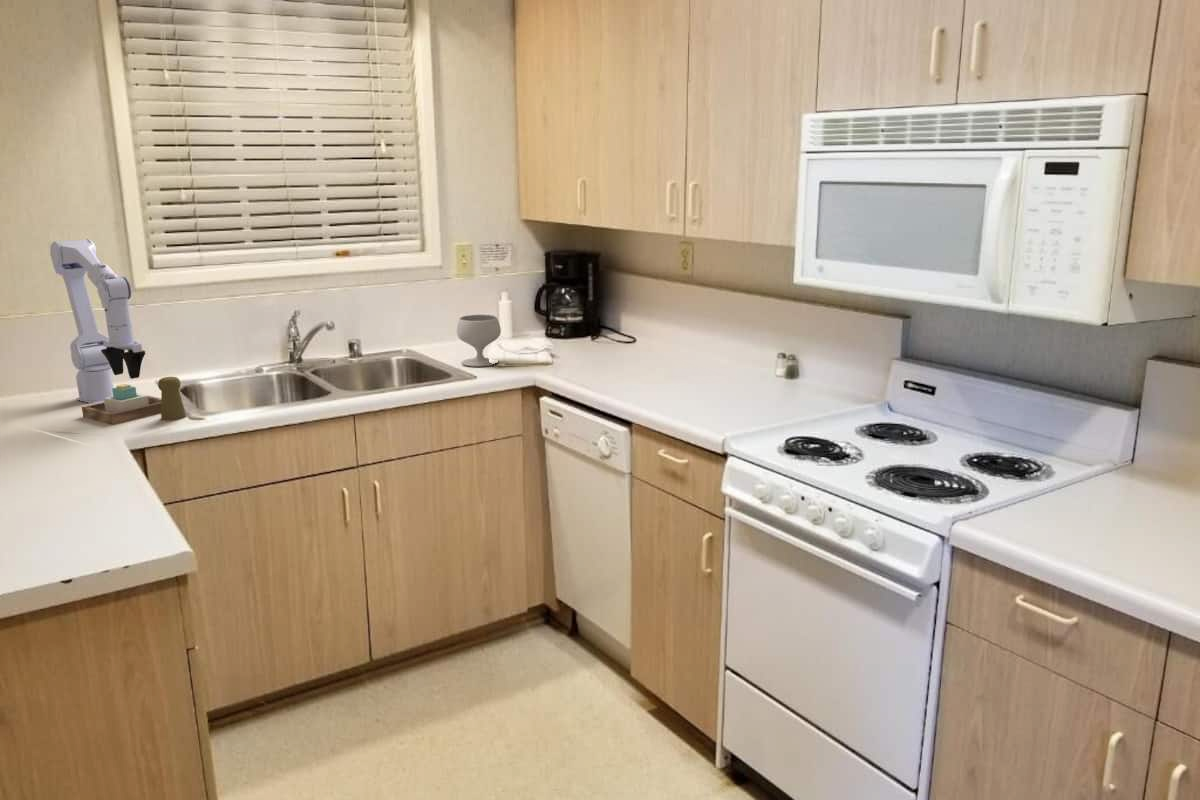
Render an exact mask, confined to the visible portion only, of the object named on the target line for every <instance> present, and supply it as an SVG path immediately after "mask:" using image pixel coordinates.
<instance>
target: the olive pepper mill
mask: <svg viewBox="0 0 1200 800" xmlns="http://www.w3.org/2000/svg"><path fill="white" fill-rule="evenodd" d="M157 386H158V389H159V391H161V392H160V393H161V397H160V398H161V413H160V418H161V420H162V421H166V422H171V421H178V420H183V419H185V418H186V417H187V414H186V409H185V405H184V403H183V400H182V399H183V398H182V396H181V391H180V388H181V380H180V378H178V377H176V376H165V377H162V378H160V379H159V380H158V382H157Z"/></svg>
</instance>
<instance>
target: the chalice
mask: <svg viewBox="0 0 1200 800" xmlns="http://www.w3.org/2000/svg"><path fill="white" fill-rule="evenodd" d="M501 333H502V329H501V324H500V321H499V319H498V318H497V316H495V315H491V314H470V315H464V316H461V317H459V320H458V321H457V326H456V334H457V337H458V338H459V340H461V342H464V343H465V344H468V345H469V346H471V347H473V348H474V349H475V350H476V357H473V358H468V359H465V360H462V361H461V365H462V366H466V367H473V368H475V367H489V366H494V365H493V364H492V363H490V362H489V359H488V358H489V357H485V356H484V354H483V353H484V350H485V349H486V347H487V346H489V345H490V344H492V343H493V342H495V341H496V340H497V339H499V338H500V336H501Z"/></svg>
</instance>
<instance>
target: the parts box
mask: <svg viewBox="0 0 1200 800" xmlns="http://www.w3.org/2000/svg"><path fill="white" fill-rule="evenodd" d="M142 395H144V394H142ZM147 396H148V403H149V405H146V406H142V407H138V408H133V409H129V410H125V411H121V412H117V413H110V412H106V410H105V404H104V402H100V403H95V404H89V405H86V406H82V407H81V411H82V412H81V413H82V418H84V419H85V418H86V419H89V420H93V421H96V422H97V421H98V422H101V423H104V424H108V425H112V426H115V425H118V424H122V423H127V422H130V421H134V420H138V419H143V418H147V417H150V416H155V415H159V414H161V397H156V396H151V395H147Z"/></svg>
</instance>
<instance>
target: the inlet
mask: <svg viewBox="0 0 1200 800" xmlns="http://www.w3.org/2000/svg"><path fill="white" fill-rule="evenodd" d="M136 394H137V397H135V398H130V399H126V400H122V401H121V400H117V399H114V398H113V396H111V397H107V398H104V404H105V410H106V412H110V413H117V412H121V411H125V410H129V409H133V408H138V407H142V406H146V405H149V403H148V396H149V395H147V394H143V395H142V394H141V393H138V392H136Z"/></svg>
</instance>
